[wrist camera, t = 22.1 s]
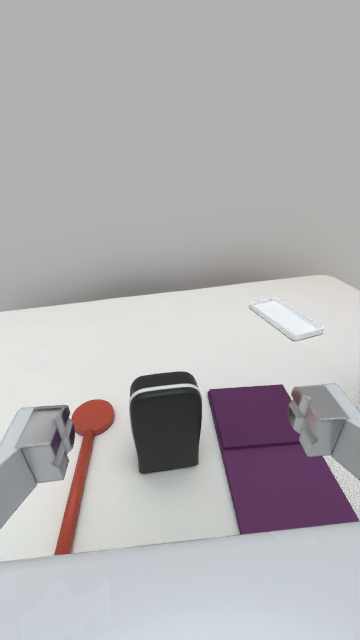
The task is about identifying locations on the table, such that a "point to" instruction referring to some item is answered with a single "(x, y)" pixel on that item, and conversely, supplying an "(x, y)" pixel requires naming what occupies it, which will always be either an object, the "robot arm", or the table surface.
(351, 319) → the table surface
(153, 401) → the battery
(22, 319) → the table surface
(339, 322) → the table surface
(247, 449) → the cloth
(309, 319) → the phone case
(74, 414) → the spoon
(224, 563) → the robot arm
